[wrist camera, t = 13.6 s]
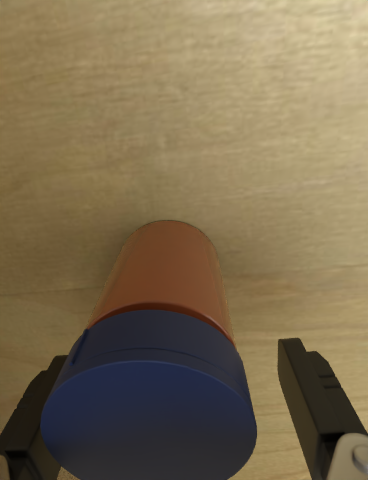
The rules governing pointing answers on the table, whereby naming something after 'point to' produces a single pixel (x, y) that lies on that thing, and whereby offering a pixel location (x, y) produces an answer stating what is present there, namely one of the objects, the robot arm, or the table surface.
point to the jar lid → (150, 402)
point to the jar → (167, 277)
